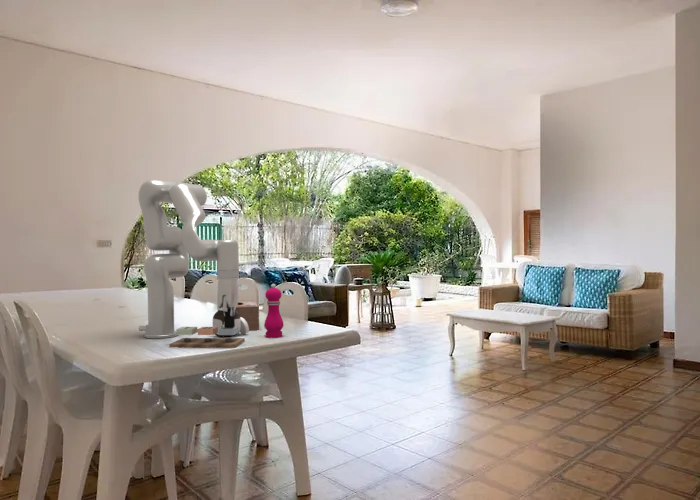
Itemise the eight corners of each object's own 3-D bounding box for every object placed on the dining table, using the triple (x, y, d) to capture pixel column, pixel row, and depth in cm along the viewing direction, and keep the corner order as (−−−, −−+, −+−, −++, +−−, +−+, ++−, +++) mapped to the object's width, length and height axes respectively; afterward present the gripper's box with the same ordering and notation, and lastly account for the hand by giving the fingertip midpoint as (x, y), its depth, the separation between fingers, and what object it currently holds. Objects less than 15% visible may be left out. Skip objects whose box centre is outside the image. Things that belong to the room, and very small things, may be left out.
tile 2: (197, 335, 191) (197, 328, 191) (202, 332, 197) (202, 326, 197) (213, 335, 191) (212, 328, 191) (218, 332, 196) (217, 326, 196)
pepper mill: (280, 338, 204) (279, 284, 204) (261, 337, 206) (260, 284, 206) (286, 335, 212) (285, 283, 211) (268, 334, 213) (267, 283, 213)
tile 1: (176, 334, 192) (176, 328, 192) (182, 332, 197) (182, 326, 197) (191, 335, 191) (191, 328, 191) (197, 332, 197) (197, 326, 197)
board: (169, 347, 189) (169, 341, 189) (182, 341, 201) (182, 335, 201) (235, 347, 187) (235, 342, 187) (244, 341, 199) (244, 335, 199)
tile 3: (218, 335, 191) (218, 328, 191) (223, 332, 196) (223, 326, 196) (234, 335, 190) (234, 328, 190) (238, 332, 196) (238, 326, 196)
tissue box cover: (259, 331, 223) (258, 306, 223) (222, 332, 220) (222, 307, 220) (255, 322, 248) (254, 300, 248) (222, 323, 245) (221, 301, 245)
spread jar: (209, 337, 209) (209, 306, 209) (226, 332, 219) (226, 303, 219) (236, 338, 205) (236, 307, 204) (252, 333, 215) (252, 304, 215)
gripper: (224, 274, 200) (225, 324, 201) (210, 276, 186) (212, 330, 186) (244, 273, 200) (245, 324, 200) (232, 275, 185) (234, 330, 185)
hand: (229, 327), depth 193 cm, fingers closed
